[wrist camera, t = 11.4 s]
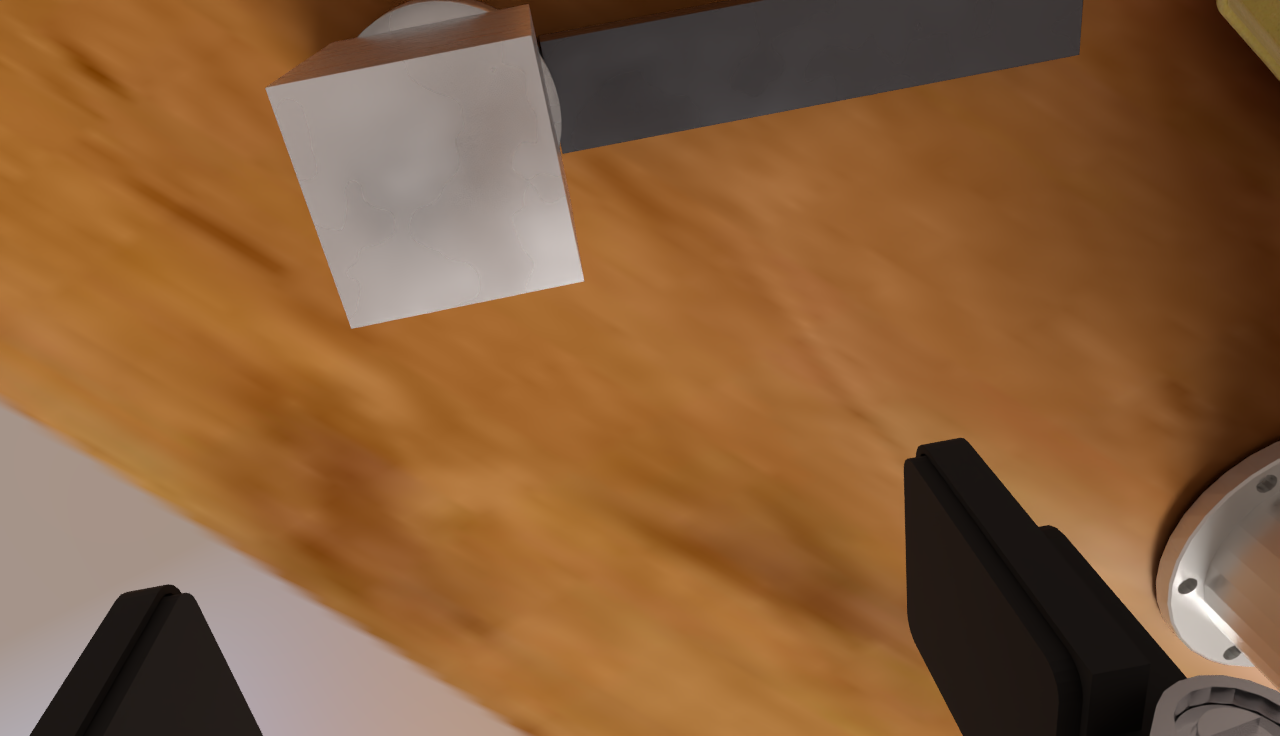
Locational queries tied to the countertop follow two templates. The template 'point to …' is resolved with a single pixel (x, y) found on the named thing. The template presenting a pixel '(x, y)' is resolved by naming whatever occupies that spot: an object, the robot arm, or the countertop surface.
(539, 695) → the countertop surface
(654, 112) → the ratchet
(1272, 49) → the flat yellow-green tile
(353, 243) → the white block
